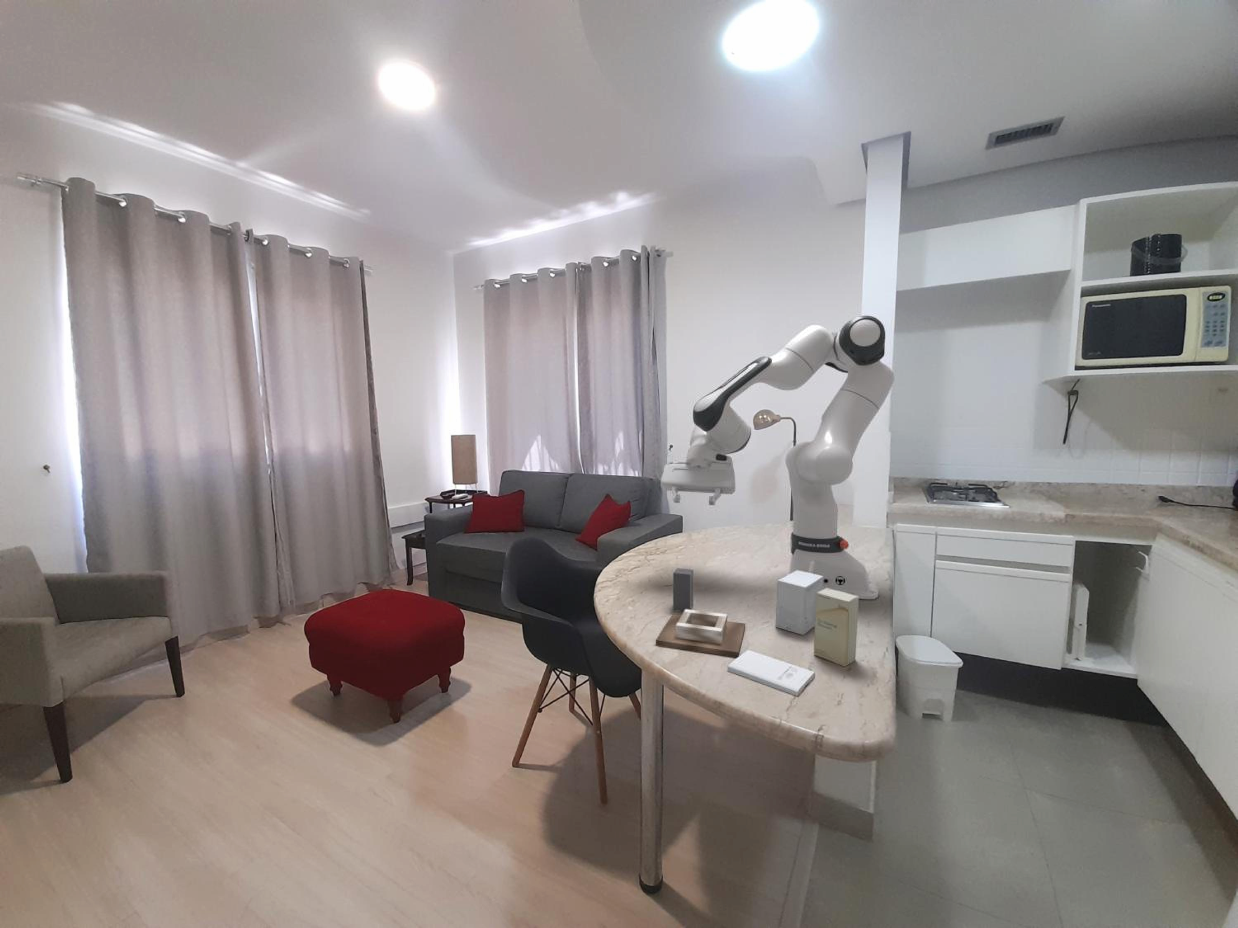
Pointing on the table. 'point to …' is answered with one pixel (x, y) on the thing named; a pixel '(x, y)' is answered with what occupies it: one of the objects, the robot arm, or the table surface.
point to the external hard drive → (771, 672)
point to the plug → (682, 589)
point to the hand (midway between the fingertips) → (693, 502)
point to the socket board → (703, 633)
